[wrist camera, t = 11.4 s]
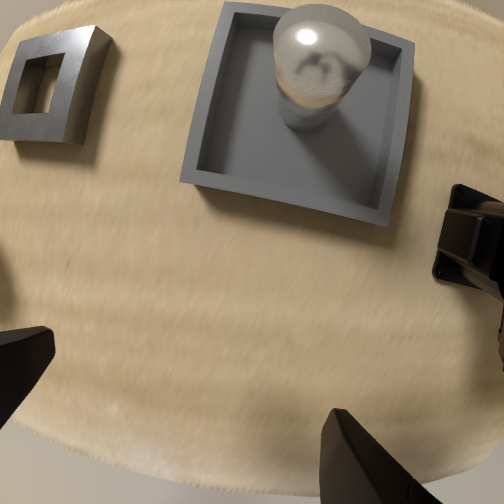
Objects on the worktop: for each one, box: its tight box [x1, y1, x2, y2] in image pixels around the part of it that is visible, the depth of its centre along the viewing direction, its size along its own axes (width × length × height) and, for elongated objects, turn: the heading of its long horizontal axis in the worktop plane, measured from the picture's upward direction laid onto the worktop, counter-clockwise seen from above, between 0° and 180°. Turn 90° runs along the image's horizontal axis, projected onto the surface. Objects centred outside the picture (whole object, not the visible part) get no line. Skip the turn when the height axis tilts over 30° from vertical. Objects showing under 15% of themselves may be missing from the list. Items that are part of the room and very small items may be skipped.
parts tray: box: [180, 2, 415, 227], centre depth 16 cm, size 12×12×2 cm
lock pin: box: [273, 4, 371, 132], centre depth 12 cm, size 3×3×9 cm
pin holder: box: [0, 25, 112, 145], centre depth 17 cm, size 9×9×2 cm
